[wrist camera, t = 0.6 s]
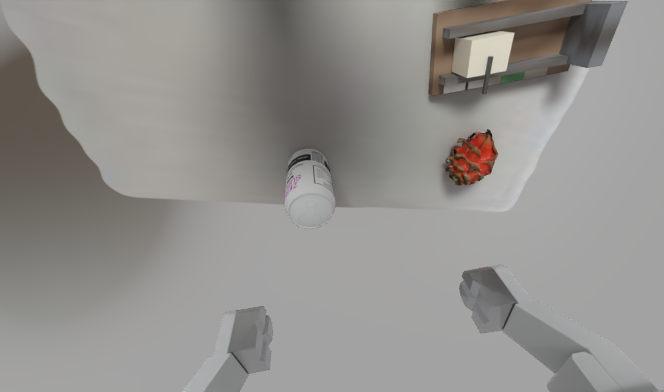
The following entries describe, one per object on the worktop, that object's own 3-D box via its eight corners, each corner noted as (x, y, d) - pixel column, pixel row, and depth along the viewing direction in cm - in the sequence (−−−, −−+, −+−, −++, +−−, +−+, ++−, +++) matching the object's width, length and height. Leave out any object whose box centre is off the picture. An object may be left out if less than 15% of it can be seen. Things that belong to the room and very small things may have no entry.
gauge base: (433, 13, 41) (456, 14, 35) (588, -16, 41) (639, -19, 35) (428, 93, 48) (447, 106, 42) (561, 69, 48) (599, 78, 42)
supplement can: (326, 183, 57) (333, 231, 45) (287, 181, 56) (283, 230, 44) (330, 148, 52) (339, 191, 40) (287, 145, 51) (284, 189, 39)
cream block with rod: (455, 37, 42) (474, 40, 37) (493, 30, 42) (516, 33, 37) (449, 88, 46) (466, 97, 42) (484, 82, 46) (504, 90, 42)
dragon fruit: (438, 173, 60) (466, 121, 56) (476, 190, 58) (508, 137, 53) (434, 180, 53) (466, 121, 48) (478, 199, 50) (516, 139, 46)
